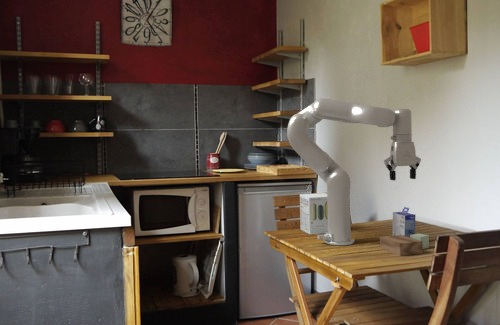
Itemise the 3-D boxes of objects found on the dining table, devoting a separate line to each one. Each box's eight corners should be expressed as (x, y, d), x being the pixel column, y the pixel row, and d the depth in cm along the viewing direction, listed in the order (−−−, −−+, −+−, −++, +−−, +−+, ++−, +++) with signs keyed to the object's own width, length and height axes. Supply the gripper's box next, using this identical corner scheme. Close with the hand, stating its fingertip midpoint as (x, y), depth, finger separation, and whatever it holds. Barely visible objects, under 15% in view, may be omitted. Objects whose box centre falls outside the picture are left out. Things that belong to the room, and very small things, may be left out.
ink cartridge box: (416, 243, 213) (416, 209, 212) (404, 244, 212) (404, 209, 211) (403, 239, 223) (402, 205, 222) (391, 240, 221) (391, 206, 220)
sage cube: (420, 249, 203) (420, 237, 203) (410, 247, 208) (410, 235, 207) (429, 247, 206) (428, 235, 206) (418, 245, 210) (418, 233, 210)
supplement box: (309, 234, 238) (308, 197, 237) (300, 229, 251) (299, 194, 250) (336, 232, 241) (335, 195, 240) (325, 227, 254) (324, 192, 253)
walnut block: (400, 256, 194) (399, 243, 194) (379, 249, 207) (379, 236, 207) (422, 254, 197) (422, 241, 196) (401, 246, 210) (401, 234, 210)
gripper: (389, 139, 209) (389, 181, 210) (425, 138, 214) (426, 179, 215) (379, 139, 216) (379, 180, 217) (414, 138, 221) (415, 177, 222)
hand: (402, 179), depth 216 cm, fingers open, 9 cm apart
